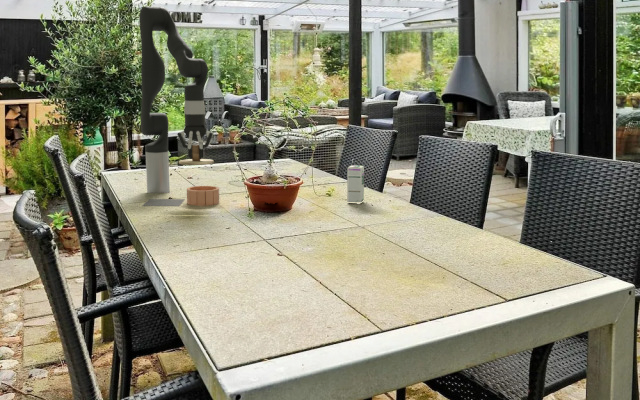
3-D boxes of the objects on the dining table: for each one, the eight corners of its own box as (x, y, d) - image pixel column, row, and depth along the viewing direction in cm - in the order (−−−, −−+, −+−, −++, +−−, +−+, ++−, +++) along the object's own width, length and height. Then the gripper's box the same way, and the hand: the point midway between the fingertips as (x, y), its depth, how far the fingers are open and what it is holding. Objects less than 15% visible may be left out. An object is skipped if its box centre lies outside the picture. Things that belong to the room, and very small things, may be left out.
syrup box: (361, 204, 250) (362, 167, 248) (346, 203, 251) (347, 166, 249) (363, 201, 256) (364, 165, 253) (349, 201, 257) (349, 165, 254)
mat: (149, 200, 254) (149, 199, 254) (185, 200, 255) (185, 199, 255) (141, 207, 241) (141, 206, 241) (179, 207, 241) (179, 206, 241)
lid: (182, 161, 251) (181, 143, 250) (215, 160, 251) (215, 143, 250) (175, 165, 238) (175, 146, 237) (211, 165, 239) (210, 146, 237)
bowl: (190, 200, 254) (189, 185, 253) (220, 200, 255) (220, 185, 254) (185, 206, 242) (184, 191, 241) (217, 206, 243) (217, 191, 242)
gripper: (215, 112, 246) (216, 157, 249) (177, 112, 245) (179, 157, 248) (212, 113, 238) (213, 160, 241) (174, 113, 238) (175, 160, 241)
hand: (196, 158), depth 245 cm, fingers closed on lid, 3 cm apart
